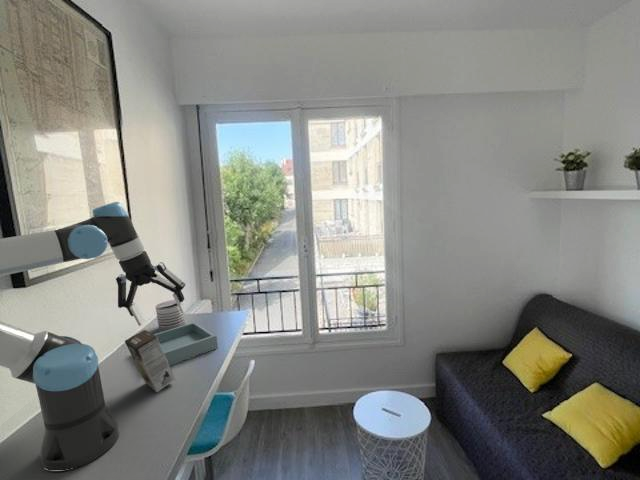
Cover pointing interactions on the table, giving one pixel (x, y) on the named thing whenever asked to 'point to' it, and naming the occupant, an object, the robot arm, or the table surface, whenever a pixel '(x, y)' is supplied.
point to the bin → (186, 342)
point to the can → (169, 316)
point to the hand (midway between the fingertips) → (163, 317)
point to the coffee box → (150, 360)
